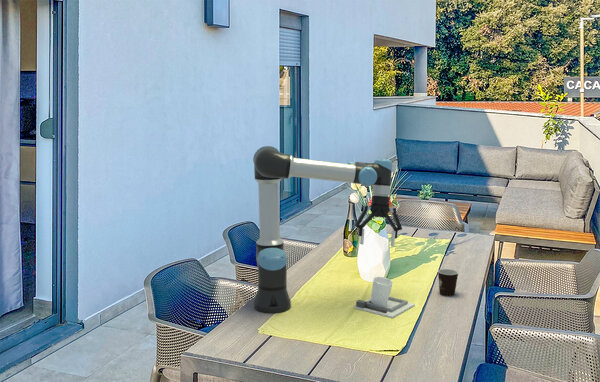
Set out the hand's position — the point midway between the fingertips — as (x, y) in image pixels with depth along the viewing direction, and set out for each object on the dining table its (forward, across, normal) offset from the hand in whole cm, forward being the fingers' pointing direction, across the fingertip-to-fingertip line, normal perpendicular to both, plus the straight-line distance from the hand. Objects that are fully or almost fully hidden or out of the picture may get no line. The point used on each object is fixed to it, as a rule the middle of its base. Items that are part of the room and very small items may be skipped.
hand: (377, 245), depth 267 cm
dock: (+24, -3, +9) cm, 26 cm away
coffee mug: (+20, -34, -4) cm, 40 cm away
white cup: (+23, 0, +8) cm, 25 cm away
